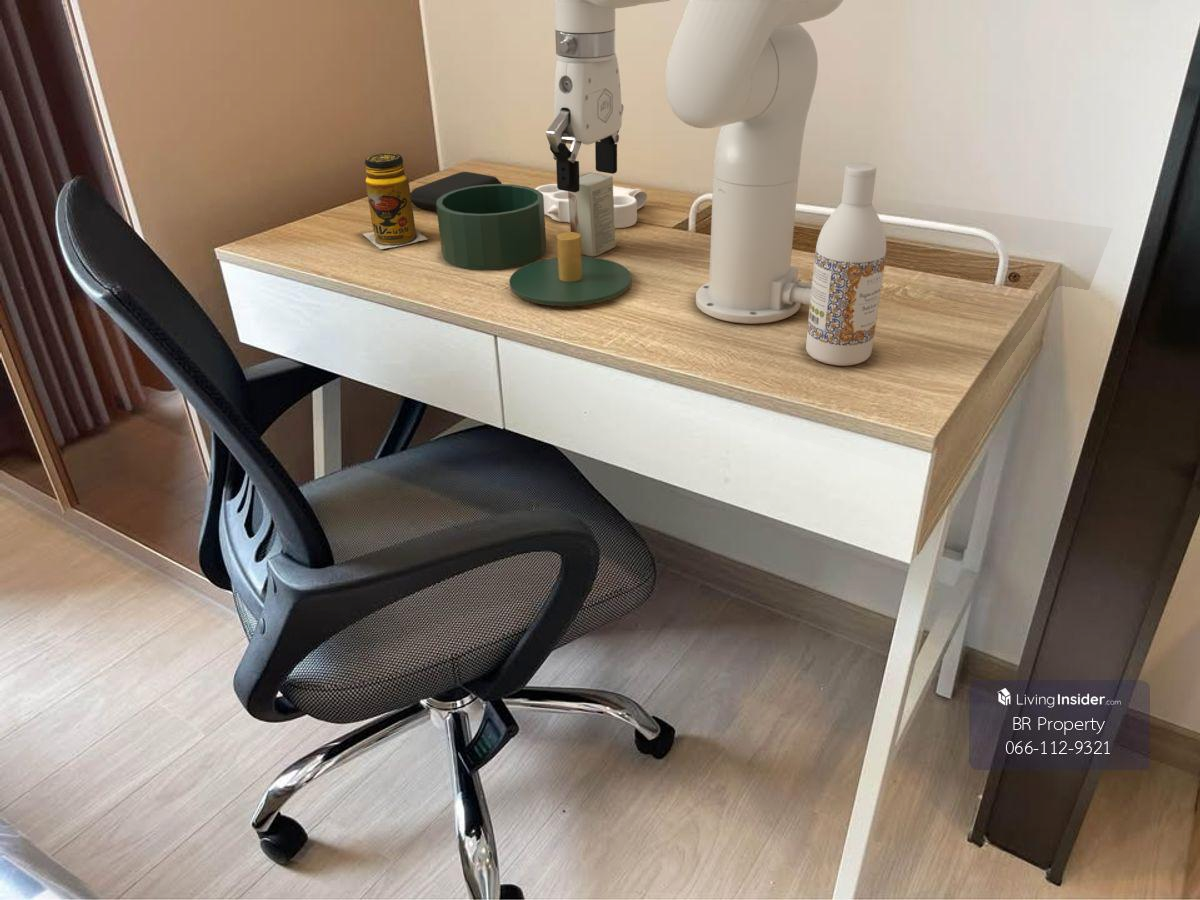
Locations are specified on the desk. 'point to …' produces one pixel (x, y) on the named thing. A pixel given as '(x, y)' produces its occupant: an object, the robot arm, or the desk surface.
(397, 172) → the condiment
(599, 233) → the white cardboard carton
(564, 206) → the knuckle duster
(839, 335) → the bath foam
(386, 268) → the desk surface
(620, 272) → the tin lid
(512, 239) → the tin
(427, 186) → the carrying case
